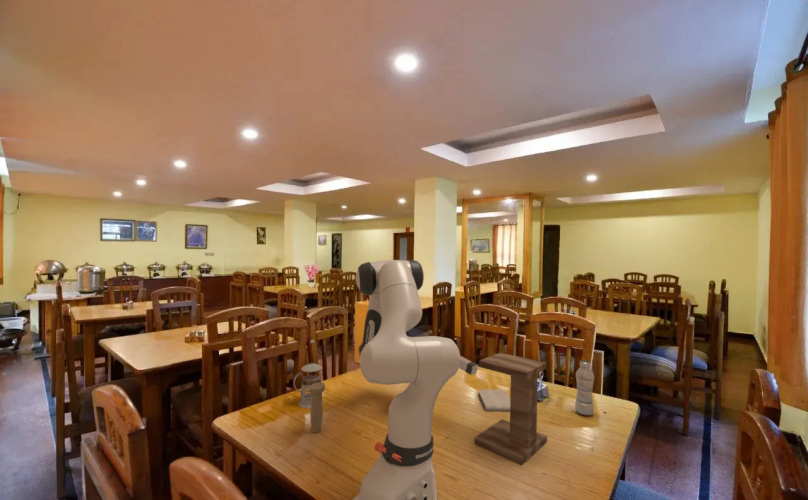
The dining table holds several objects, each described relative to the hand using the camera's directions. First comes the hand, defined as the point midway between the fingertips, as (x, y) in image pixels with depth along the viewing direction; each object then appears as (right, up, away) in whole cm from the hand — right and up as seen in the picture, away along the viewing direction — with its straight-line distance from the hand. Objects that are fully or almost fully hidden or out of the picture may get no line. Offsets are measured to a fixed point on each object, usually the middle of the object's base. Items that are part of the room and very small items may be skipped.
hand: (436, 347), depth 133 cm
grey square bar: (+4, -3, -4) cm, 7 cm away
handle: (-41, -24, -13) cm, 50 cm away
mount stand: (+22, -26, -19) cm, 39 cm away
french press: (-50, -25, +8) cm, 56 cm away
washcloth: (+25, -27, +13) cm, 39 cm away
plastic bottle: (+57, -27, +3) cm, 63 cm away
